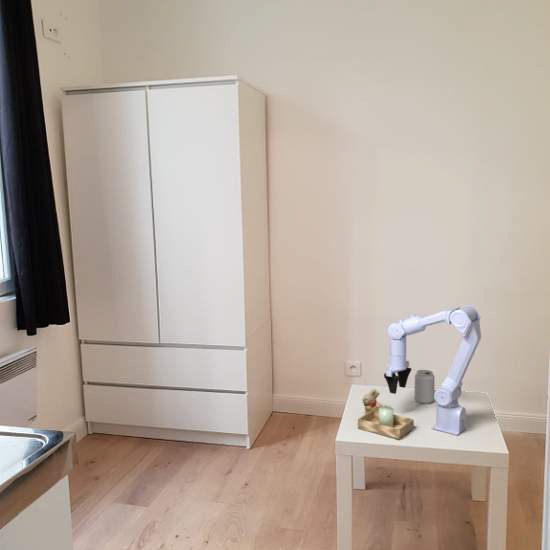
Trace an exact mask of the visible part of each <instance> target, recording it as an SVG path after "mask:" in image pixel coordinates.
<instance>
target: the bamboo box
mask: <svg viewBox="0 0 550 550" xmlns="http://www.w3.org/2000/svg"><path fill="white" fill-rule="evenodd" d="M414 419H415V418H414ZM414 419H413V418H408V417H406V416H405V417H404V416H401V415H397V414H394V416H393V428H392V427H388V426H384V425H380V424H379V411H378V410H374V409H373V410H371V411H370V412H368V413H367V414H365V413H364V415H362V416H360V417H358V418H357V429H358V430H361V431H364V432H367V433H368V432H369V433H372V434H376V435H379V436H383V437H387V438H391V439H393V440H397V441H401V439H403V438H404V437H406V436H407V435H408V434H410V432H412V431H413V430H415V425H414V423H415V420H414Z"/></svg>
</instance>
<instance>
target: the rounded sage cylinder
mask: <svg viewBox="0 0 550 550" xmlns="http://www.w3.org/2000/svg"><path fill="white" fill-rule="evenodd" d="M394 415H395V413H394V408H393V407H391V406H383V407H380V408H379V424H380V425H384V426H388V427H392V428H393V416H394Z"/></svg>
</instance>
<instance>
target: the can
mask: <svg viewBox="0 0 550 550" xmlns="http://www.w3.org/2000/svg"><path fill="white" fill-rule="evenodd" d="M435 380H436V379H435V375H434V373H433V371H431V370H429V369H418V370H417V371H416V373H415V375H414V394H413V395H414V400H415V401H416V402H417V403H418V402H419V403H418V404H423V405H428V404H431V403H432V402H434V401H435V399H434V393H435Z"/></svg>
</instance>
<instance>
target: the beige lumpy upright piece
mask: <svg viewBox="0 0 550 550" xmlns="http://www.w3.org/2000/svg"><path fill="white" fill-rule="evenodd" d="M380 394H381V393H380V391H378V390H377V389H376V388H373V389H372V390H371V389H370V391H369V392H368V393H367V394H365V395H363V397H362V404H363V406H364V410H365V411H364V415H365V414H367V413H368V412H370V411H371V410H373V409H374V410H378V411H379V408H380V407H384V406H383V404H382V403H380V402H378V401H377V398H378V397H379V396H380Z"/></svg>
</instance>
